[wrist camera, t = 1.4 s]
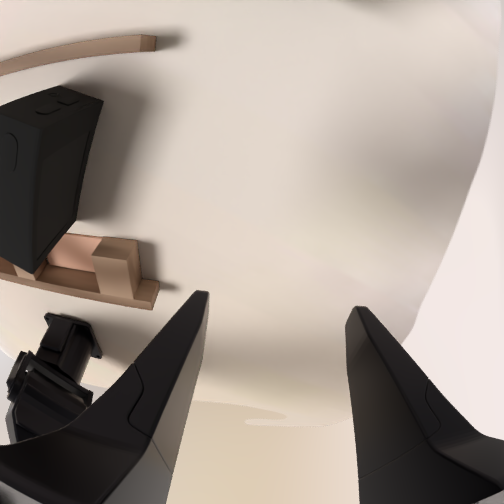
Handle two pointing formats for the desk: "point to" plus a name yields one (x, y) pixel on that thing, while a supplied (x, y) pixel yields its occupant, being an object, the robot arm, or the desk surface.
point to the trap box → (81, 246)
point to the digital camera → (42, 170)
